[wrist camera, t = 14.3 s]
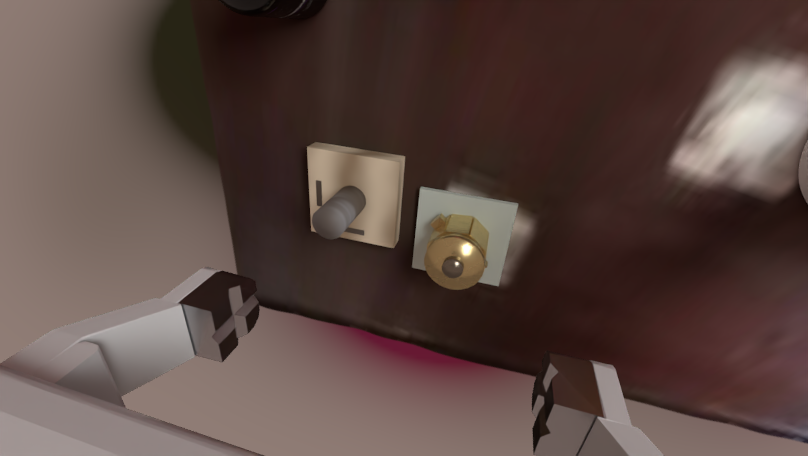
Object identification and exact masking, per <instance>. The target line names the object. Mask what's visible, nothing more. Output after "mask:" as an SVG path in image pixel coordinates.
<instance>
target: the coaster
mask: <svg viewBox="0 0 808 456" xmlns="http://www.w3.org/2000/svg"><path fill="white" fill-rule="evenodd" d="M517 208H518V203H513V202H507V201H501V200H496V199H490V198H484V197H478V196H473V195H467V194H461V193H455V192H449V191H444V190H438V189H432V188H426V187H421V188H420V194H419V204H418V213H417V223H416V233H415V243H414V253H413V262H412V268H416V269H421V270H425V271H426V269H425V265H424V257H425V254H426V251H427V244H428V241H429V239H430V237H431V234H432V232H433V230H434V228H433V227H432V226H431V225H430V224H431V222H432V220H433V219H435V218H436V217H437V216H438V215H440V214H441V213H442V214H443V215H444V216H445V217H447V216H449V215H452V214H458V215H468V216H473V218H474V217H475V218H476V219H477V220H478V221H479V222H480V223H481V224H482V225H483V226H484V227H485V228H486V230H487V231H488V233H489V239H488V249H487V256H486V260H487V262H488V266H487V268H485V270H484V272H483V275H482V277H481V279H480V280H479V281H478V282H480V283H485V284H490V285H494V286H499V282H500V278H501V274H502V270H503V266H504V262H505V258H506V253H507V249H508V245H509V241H510V237H511V233H512V229H513V225H514V221H515V217H516V212H517Z"/></svg>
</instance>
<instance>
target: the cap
mask: <svg viewBox="0 0 808 456" xmlns="http://www.w3.org/2000/svg"><path fill="white" fill-rule="evenodd" d="M430 225H431V226H432V227H433V228H434V230H433V232H432V234H431V237H430V239H429V241H428V244H427V251H426V254H425V257H424V265H425V269H426V271H427V273H428V275H429V276H430V278H431V279H432V280H433V281H434V282H436V283H437V284H439V285H440V286H443V287H445V288H448V289H454V290H461V289H466V288H469V287H471V286H473V285H475V284H476V283H477V282H478V281H479V280H480V279H481V277H482V275H483V272H484V270H485V268H487V266H488V262H487V260H486V256H487V249H488V239H489V233H488V231H487V230H486V228H485V227H484V226H483V225H482V224H481V223H480V222H479V221H478V220H477V219H476V218H475V217H474V218H473V216H468V215H458V214H452V215H449V216H447V217H445V216H444V215H443V214H442V213H441V214H440V215H438V216H437V217H436V218H435V219H433V220H432V222H431V224H430Z"/></svg>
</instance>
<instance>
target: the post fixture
mask: <svg viewBox="0 0 808 456" xmlns="http://www.w3.org/2000/svg"><path fill="white" fill-rule="evenodd" d="M307 157H308V177H309V196H310V216H311V231H313V232H317V233H318V234H319V235H320V236H322V237H324V238H326V239H336V238H338V237H342V238H347V239H351V240H356V241H361V242H366V243H370V244H375V245H380V246H385V247H389V248H394V247H395V245H396V244H397V242H398V240H399V229H400V216H401V204H402V191H403V178H404V165H405V156H400V155H394V154H388V153H381V152H375V151H369V150H363V149H356V148H350V147H344V146H337V145H331V144H325V143H319V142H315V143H313V144H312V145H310V146H308V147H307Z"/></svg>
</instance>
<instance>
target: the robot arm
mask: <svg viewBox="0 0 808 456" xmlns="http://www.w3.org/2000/svg"><path fill="white" fill-rule="evenodd" d="M798 173H799V185H800V189H801V192H802V194H803V197H804V199H805V201H806V202H807V204H808V140H807V142H806V144H805V146H804V149H803V152H802V155H801V159H800V163H799V172H798ZM256 291H257V288H256V283H255V281H254V280H253V279H251V278H247V277H244V276H240V275H236V274H233V273H228V272H225V271H220V270H216V269H213V268H209V267H205V268H201V269H200V270H199V271H197V272H196V273H194V274H193V275H192V276H190V277H189V278H188V279H187V280H185V281H184V282H182V283H181V284H180V285H178V286H177V287H176V288H174V289H173V290H172V291H170V292H169V293H168V294H166V295H165V296H164V297H162V298H161V299H159V298H154V299H150V300H147V301H144V302H140V303H137V304H134V305H131V306H127V307H124V308H121V309H118V310H115V311H111V312H108V313H105V314H102V315H98V316H95V317H92V318H88V319H85V320H82V321H79V322H75V323H72V324H69V325H66V326H63V327H59V328H56V329H53V330H51V331H50V332H48V333H47V334H45V335H44V336H42V337H41V338H39V339H37V340H36V341H34V342H33V343H31V344H30V345H28V346H27V347H25V348H24V349H22V350H20V351H19V352H17V353H16V354H14V355H13V356H11V357H9V358H8V359H6V360H5V361H3V362H2V363H0V456H264V455H260V454H257V453H255V452H252V451H249V450H246V449H243V448H240V447H237V446H234V445H231V444H228V443H226V442H223V441H220V440H216V439H214V438H211V437H208V436H205V435H202V434H199V433H197V432H194V431H191V430H188V429H185V428H182V427H179V426H176V425H173V424H170V423H167V422H165V421H162V420H159V419H156V418H153V417H150V416H147V415H144V414H141V413H138V412H135V411H132V410H129V409H127V408H126V407H125V405H124V403H123V400H122V398H121V396H123V395H125V394H127V393H129V392H131V391H133V390H134V389H136V388H138V387H140V386H142V385H144V384H146V383H147V382H149V381H151V380H153V379H155V378H157V377H159V376H160V375H162V374H164V373H166V372H168V371H170V370H172V369H173V368H175V367H177V366H179V365H181V364H183V363H185V362H186V361H188V360H190V359H192V358H194V357H195V355H196V356H200V357H204V358H208V359H211V360H215V361H219V362H223V361H224V360H225V359H226V358H227V357H228V356H229V355H230V353H231V352H232V351H233V350H234V349H235V348H236V347H237V346H238V338H239V337H242V336H244V335H246V334H248V333H249V332H250V331H251V330H252V328H253V327H254V326H255V324H256V321H257V319H258V317H259V302H258V301H257V300H256V298H255V297H254V296H253V295H254V293H255V292H256ZM532 413H533V414H534V416H535V417H536V421H535V423H534V426H533V452H534V455H536V456H664V455H663V454H662V453H661V452H660V451H659V449H658V448H657V447H656V446H655V445H654V444H653V443H652V442H651V441H650V440H649V438H648V437H647V436H646V435H645V434H644V433H643V432H642V431H641V430H640V429H639V428H637V427H634V426H632V425H631V421H630V418H629V415H628V411H627V408H626V404H625V401H624V397H623V394H622V390H621V387H620V383H619V380H618V376H617V373H616V370H615V368H614V367H613V366H612V365H609V364H604V363H600V362H596V361H591V360H590V361H589V360H586V359H582V358H577V357H573V356H569V355H565V354H560V353H556V352H552V351H548V350H547V351H546V353H545V354H544V357H543V359H542V372H540V373H538V374H537V377H536V380H535V383H534V388H533V393H532Z"/></svg>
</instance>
